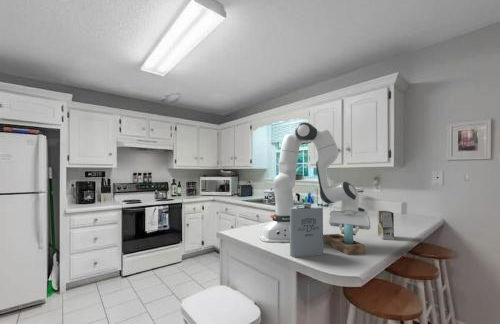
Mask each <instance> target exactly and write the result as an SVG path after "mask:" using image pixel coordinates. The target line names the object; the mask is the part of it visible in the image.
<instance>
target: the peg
mask: <svg viewBox="0 0 500 324" xmlns="http://www.w3.org/2000/svg"><path fill="white" fill-rule="evenodd" d="M343 229H344V234H343V236H344V243H345V244H347V245H349V244H353V240H354V235H353V231H354V228H353V225H352V224H344V227H343Z"/></svg>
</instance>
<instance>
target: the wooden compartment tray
mask: <svg viewBox="0 0 500 324" xmlns="http://www.w3.org/2000/svg"><path fill="white" fill-rule="evenodd" d="M323 243H325V244H327V245H328V246H331V247H332V248H334V249H336V250H338V251H340V252H342V253H344V254H345V255H357V254H358V255H361V254H365V253H366V248H365V247H366V245H365V244H363V243H361V242H359V241H356V240H354V239H353V244H349V245H347V244H345V243H344V235H343V234H341V233H331V234H329V233H327V234H323Z"/></svg>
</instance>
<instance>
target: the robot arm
mask: <svg viewBox="0 0 500 324" xmlns="http://www.w3.org/2000/svg"><path fill="white" fill-rule="evenodd" d="M311 143H313V144H314V146H315V148H316V151H317V155H318V156H317V161H316V163H315V167H316V174H317V179H318V186H319V196H320V199H321V200H322V202H324V203H325V204H328V205H330V204H331V205H332V204H333V203H336V202H342V203H341V208H340V209H341V210H332V211H329V220H328V224H329V226H331V227H337V228H339V229H340V235H344V224H352V225H353V229H355V230H353V236H357V233H358V231H359V230H367V231H368V230H371V220H370V219H371V218H370V216H369V215H368V210H367V208H362V207H360V206H359V204H360V203H359V202H360V197H359V191H358V189H357V188H356V187H354V185H353V184H351V183H349V182H348V181H341V182H338V183H334V184H332V185H329V181H328V176H327V170H328V168H329V167H330V166H331V165H333V163H335V161H336V160H337V159H338V157H339V149H338V145H337V144H336V140H335V139H334V137H333V135H332V133H331V132H330V130H328V129H319V130H318V129H317V128H316V127H315V126H313V124H311V123H309V122H301V123H299V124H297V126H296V127H295V131H294V133H287V134H285V136H284V137H283V139H282V143H281V147H280V152H279V158H278V174H277V175H276V176H275V177H274V178H273V181H272V186H273V194H274V199H275V200H274V202H275V203H274V205H275V213H274V214H273V213H271V214H269V217H270V218H272V220H271V221H270V222H268V223H267V224H266V225H265V226H264V227H263V230H262V234H261V233H260V234H259V235H258V238H259V239H260V240H261V241H263V242H265V243H290V208H295V206H294V204H295V203H294V196H293V195H294V193H293V189H294V187H295V184H296V175H297V164H298V158H299V153H300V152H299V151H300V146H301V145H307V144H311Z"/></svg>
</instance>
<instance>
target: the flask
mask: <svg viewBox="0 0 500 324" xmlns="http://www.w3.org/2000/svg"><path fill="white" fill-rule="evenodd" d="M323 235H324V207H323V206H312V203H311V202H303V205H302V204H300V205H298V204H297V205H296V207H294V208H290V242H289V256H290V257H291V256H292V257H291V258H304V257H306V256H308V257H313V256H315V255H316V256H320V255H324V242H323ZM316 256H315V257H316Z"/></svg>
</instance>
